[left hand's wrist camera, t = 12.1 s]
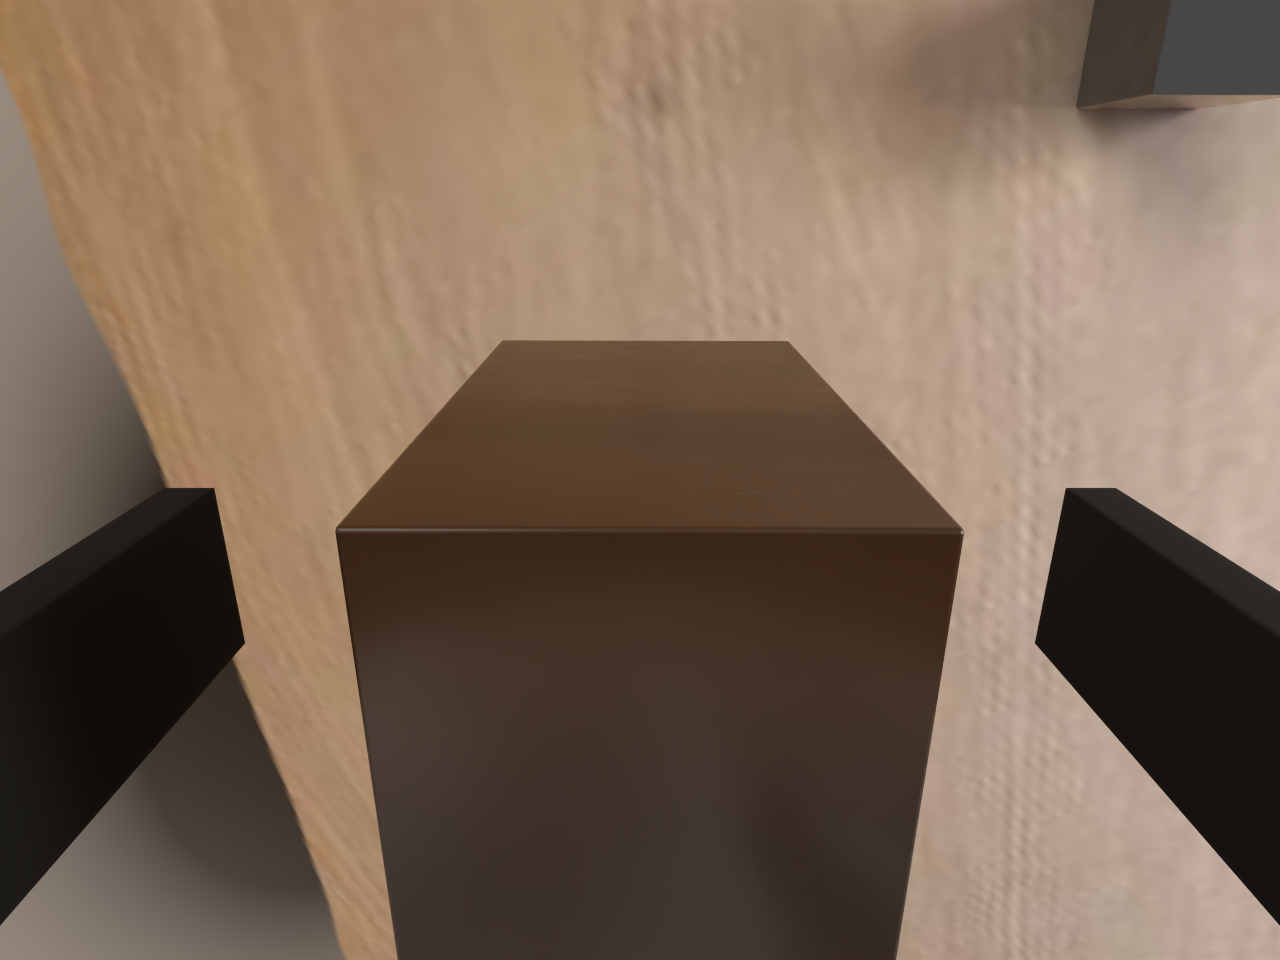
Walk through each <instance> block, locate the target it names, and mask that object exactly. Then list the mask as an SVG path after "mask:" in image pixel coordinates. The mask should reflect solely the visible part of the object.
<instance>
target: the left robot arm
mask: <svg viewBox="0 0 1280 960" xmlns="http://www.w3.org/2000/svg"><path fill="white" fill-rule="evenodd" d="M244 644H245V640H244V635H243V630H242V625H241V620H240V615H239V610H238V605H237V600H236V595H235V590H234V585H233V580H232V575H231V570H230V565H229V560H228V555H227V550H226V545H225V540H224V535H223V530H222V525H221V520H220V515H219V510H218V505H217V500H216V495H215V490H214V488H164V489H162V490H161V491H159V492H157V493H156V494H154V495H153V496H151V497H149V498H148V499H146V500H145V501H143V502H142V503H140V504H138V505H137V506H135V507H134V508H132V509H130V510H129V511H127V512H126V513H124V514H123V515H121V516H119V517H118V518H116V519H115V520H113V521H111V522H110V523H108V524H107V525H105V526H103V527H102V528H100V529H99V530H97V531H96V532H94V533H92V534H91V535H89V536H88V537H86V538H84V539H83V540H81V541H80V542H78V543H77V544H75V545H73V546H72V547H70V548H69V549H67V550H66V551H64V552H62V553H61V554H59V555H58V556H56V557H54V558H53V559H51V560H50V561H48V562H46V563H45V564H43V565H42V566H40V567H39V568H37V569H35V570H34V571H32V572H31V573H29V574H27V575H26V576H24V577H23V578H21V579H20V580H18V581H16V582H15V583H13V584H12V585H10V586H8V587H7V588H5V589H4V590H2V591H1V592H0V925H1V924H2V923H3V922H4V920H5V919H6V918H7V917H8V916H9V915H10V914H11V912H12V911H13V910H14V909H15V908H16V907H17V905H18V904H19V903H20V902H21V901H22V900H23V898H24V897H25V896H26V895H27V894H28V893H29V892H30V890H31V889H32V888H33V887H34V886H35V885H36V884H37V882H38V881H39V880H40V879H41V878H42V877H43V876H44V874H45V873H46V872H47V871H48V870H49V869H50V867H51V866H52V865H53V864H54V863H55V862H56V861H57V859H58V858H59V857H60V856H61V855H62V854H63V852H64V851H65V850H66V849H67V848H68V847H69V846H70V844H71V843H72V842H73V841H74V840H75V839H76V837H77V836H78V835H79V834H80V833H81V832H82V830H83V829H84V828H85V827H86V826H87V825H88V824H89V822H90V821H91V820H92V819H93V818H94V817H95V816H96V814H97V813H98V812H99V811H100V810H101V809H102V807H103V806H104V805H105V804H106V803H107V802H108V801H109V799H110V798H111V797H112V796H113V795H114V794H115V792H116V791H117V790H118V789H119V788H120V787H121V786H122V784H123V783H124V782H125V781H126V780H127V779H128V778H129V776H130V775H131V774H132V773H133V772H134V771H135V769H136V768H137V767H138V766H139V765H140V764H141V762H142V761H143V760H144V759H145V758H146V757H147V756H148V754H149V753H150V752H151V751H152V750H153V749H154V748H155V746H156V745H157V744H158V743H159V742H160V741H161V739H162V738H163V737H164V736H165V735H166V734H167V733H168V731H169V730H170V729H171V728H172V727H173V726H174V724H175V723H176V722H177V721H178V720H179V719H180V718H181V716H182V715H183V714H184V713H185V712H186V711H187V709H188V708H189V707H190V706H191V705H192V704H193V703H194V701H195V700H196V699H197V698H198V697H199V696H200V694H201V693H202V692H203V691H204V690H205V689H206V688H207V686H208V685H209V684H210V683H211V682H212V681H213V679H214V678H215V677H216V676H217V675H218V674H219V673H220V671H221V670H222V669H223V668H224V667H225V666H226V665H227V663H228V662H229V661H230V660H231V659H232V658H233V656H234V655H235V654H236V653H237V652H238V651H239V650H240V648H241V647H242V646H243V645H244ZM1035 644H1036V645H1037V646H1038V647H1039V648H1040V650H1041V651H1042V652H1043V653H1044V654H1045V655H1046V656H1047V658H1048V659H1049V660H1050V661H1051V662H1052V663H1053V665H1054V666H1055V667H1056V668H1057V669H1058V670H1059V671H1060V673H1061V674H1062V675H1063V676H1064V677H1065V678H1066V679H1067V681H1068V682H1069V683H1070V684H1071V685H1072V686H1073V688H1074V689H1075V690H1076V691H1077V692H1078V693H1079V694H1080V696H1081V697H1082V698H1083V699H1084V700H1085V701H1086V703H1087V704H1088V705H1089V706H1090V707H1091V708H1092V709H1093V711H1094V712H1095V713H1096V714H1097V715H1098V716H1099V718H1100V719H1101V720H1102V721H1103V722H1104V723H1105V724H1106V726H1107V727H1108V728H1109V729H1110V730H1111V731H1112V733H1113V734H1114V735H1115V736H1116V737H1117V738H1118V739H1119V741H1120V742H1121V743H1122V744H1123V745H1124V746H1125V748H1126V749H1127V750H1128V751H1129V752H1130V753H1131V754H1132V756H1133V757H1134V758H1135V759H1136V760H1137V761H1138V763H1139V764H1140V765H1141V766H1142V767H1143V768H1144V769H1145V771H1146V772H1147V773H1148V774H1149V775H1150V776H1151V778H1152V779H1153V780H1154V781H1155V782H1156V783H1157V784H1158V786H1159V787H1160V788H1161V789H1162V790H1163V791H1164V792H1165V794H1166V795H1167V796H1168V797H1169V798H1170V799H1171V801H1172V802H1173V803H1174V804H1175V805H1176V806H1177V807H1178V809H1179V810H1180V811H1181V812H1182V813H1183V814H1184V816H1185V817H1186V818H1187V819H1188V820H1189V821H1190V822H1191V824H1192V825H1193V826H1194V827H1195V828H1196V829H1197V831H1198V832H1199V833H1200V834H1201V835H1202V836H1203V837H1204V839H1205V840H1206V841H1207V842H1208V843H1209V844H1210V846H1211V847H1212V848H1213V849H1214V850H1215V851H1216V852H1217V854H1218V855H1219V856H1220V857H1221V858H1222V859H1223V861H1224V862H1225V863H1226V864H1227V865H1228V866H1229V867H1230V869H1231V870H1232V871H1233V872H1234V873H1235V874H1236V876H1237V877H1238V878H1239V879H1240V880H1241V881H1242V882H1243V884H1244V885H1245V886H1246V887H1247V888H1248V889H1249V890H1250V892H1251V893H1252V894H1253V895H1254V896H1255V897H1256V899H1257V900H1258V901H1259V902H1260V903H1261V904H1262V905H1263V907H1264V908H1265V909H1266V910H1267V911H1268V912H1269V914H1270V915H1271V916H1272V917H1273V918H1274V919H1275V920H1276V922H1277V923H1278V924H1279V925H1280V592H1279V591H1278V590H1276V589H1275V588H1273V587H1272V586H1270V585H1268V584H1267V583H1265V582H1264V581H1262V580H1260V579H1259V578H1257V577H1256V576H1254V575H1253V574H1251V573H1249V572H1248V571H1246V570H1245V569H1243V568H1241V567H1240V566H1238V565H1237V564H1235V563H1234V562H1232V561H1230V560H1229V559H1227V558H1226V557H1224V556H1222V555H1221V554H1219V553H1218V552H1216V551H1215V550H1213V549H1211V548H1210V547H1208V546H1207V545H1205V544H1203V543H1202V542H1200V541H1199V540H1197V539H1196V538H1194V537H1192V536H1191V535H1189V534H1188V533H1186V532H1184V531H1183V530H1181V529H1180V528H1178V527H1177V526H1175V525H1173V524H1172V523H1170V522H1169V521H1167V520H1165V519H1164V518H1162V517H1161V516H1159V515H1158V514H1156V513H1154V512H1153V511H1151V510H1150V509H1148V508H1146V507H1145V506H1143V505H1142V504H1140V503H1139V502H1137V501H1135V500H1134V499H1132V498H1131V497H1129V496H1127V495H1126V494H1124V493H1123V492H1121V491H1119V490H1118V489H1116V488H1066V490H1065V495H1064V500H1063V505H1062V510H1061V515H1060V520H1059V525H1058V530H1057V535H1056V540H1055V545H1054V550H1053V555H1052V560H1051V565H1050V570H1049V575H1048V580H1047V585H1046V590H1045V595H1044V600H1043V605H1042V610H1041V615H1040V620H1039V625H1038V630H1037V635H1036V640H1035Z"/></svg>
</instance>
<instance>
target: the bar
mask: <svg viewBox="0 0 1280 960" xmlns="http://www.w3.org/2000/svg"><path fill="white" fill-rule="evenodd" d="M335 532H336V539H337V546H338V553H339V559H340V566H341V573H342V580H343V587H344V594H345V601H346V607H347V614H348V621H349V628H350V635H351V642H352V649H353V655H354V662H355V669H356V676H357V683H358V690H359V697H360V703H361V710H362V717H363V724H364V731H365V738H366V745H367V751H368V758H369V765H370V772H371V779H372V786H373V793H374V799H375V806H376V813H377V820H378V827H379V834H380V841H381V848H382V854H383V861H384V868H385V875H386V882H387V889H388V896H389V902H390V909H391V916H392V923H393V930H394V937H395V944H396V950H397V957H398V960H896V955H897V949H898V943H899V937H900V930H901V924H902V918H903V912H904V905H905V899H906V893H907V886H908V880H909V874H910V868H911V861H912V855H913V849H914V843H915V836H916V830H917V824H918V818H919V811H920V805H921V799H922V792H923V786H924V780H925V774H926V767H927V761H928V755H929V749H930V742H931V736H932V730H933V724H934V717H935V711H936V705H937V698H938V692H939V686H940V680H941V673H942V667H943V661H944V655H945V648H946V642H947V636H948V630H949V623H950V617H951V611H952V604H953V598H954V592H955V586H956V579H957V573H958V567H959V561H960V554H961V548H962V542H963V536H964V532H963V529H962V527H961V526H960V525H959V524H958V523H957V522H956V521H955V520H954V519H953V518H952V517H951V516H950V515H949V514H948V512H947V511H946V510H945V509H944V508H943V507H942V506H941V505H940V504H939V503H938V502H937V501H936V500H935V498H934V497H933V496H932V495H931V494H930V493H929V492H928V491H927V490H926V489H925V488H924V487H923V486H922V484H921V483H920V482H919V481H918V480H917V479H916V478H915V477H914V476H913V475H912V474H911V473H910V472H909V471H908V469H907V468H906V467H905V466H904V465H903V464H902V463H901V462H900V461H899V460H898V459H897V458H896V457H895V455H894V454H893V453H892V452H891V451H890V450H889V449H888V448H887V447H886V446H885V445H884V444H883V443H882V441H881V440H880V439H879V438H878V437H877V436H876V435H875V434H874V433H873V432H872V431H871V430H870V429H869V428H868V426H867V425H866V424H865V423H864V422H863V421H862V420H861V419H860V418H859V417H858V416H857V415H856V414H855V412H854V411H853V410H852V409H851V408H850V407H849V406H848V405H847V404H846V403H845V402H844V401H843V400H842V399H841V397H840V396H839V395H838V394H837V393H836V392H835V391H834V390H833V389H832V388H831V387H830V386H829V385H828V383H827V382H826V381H825V380H824V379H823V378H822V377H821V376H820V375H819V374H818V373H817V372H816V371H815V369H814V368H813V367H812V366H811V365H810V364H809V363H808V362H807V361H806V360H805V359H804V358H803V357H802V356H801V354H800V353H799V352H798V351H797V350H796V349H795V348H794V347H793V346H792V345H791V344H790V343H789V342H788V341H502V342H501V343H500V344H499V345H498V346H497V347H496V348H495V349H494V351H493V352H492V353H491V354H490V355H489V356H488V357H487V358H486V360H485V361H484V362H483V363H482V364H481V365H480V366H479V367H478V369H477V370H476V371H475V372H474V373H473V374H472V375H471V376H470V378H469V379H468V380H467V381H466V382H465V383H464V384H463V385H462V387H461V388H460V389H459V390H458V391H457V392H456V393H455V394H454V396H453V397H452V398H451V399H450V400H449V401H448V402H447V403H446V405H445V406H444V407H443V408H442V409H441V410H440V411H439V412H438V414H437V415H436V416H435V417H434V418H433V419H432V420H431V421H430V423H429V424H428V425H427V426H426V427H425V428H424V429H423V430H422V432H421V433H420V434H419V435H418V436H417V437H416V438H415V439H414V441H413V442H412V443H411V444H410V445H409V446H408V447H407V448H406V450H405V451H404V452H403V453H402V454H401V455H400V456H399V457H398V459H397V460H396V461H395V462H394V463H393V464H392V465H391V466H390V468H389V469H388V470H387V471H386V472H385V473H384V474H383V475H382V477H381V478H380V479H379V480H378V481H377V482H376V483H375V484H374V486H373V487H372V488H371V489H370V490H369V491H368V492H367V493H366V495H365V496H364V497H363V498H362V499H361V500H360V501H359V502H358V504H357V505H356V506H355V507H354V508H353V509H352V510H351V511H350V513H349V514H348V515H347V516H346V517H345V518H344V519H343V520H342V522H341V523H340V524H339V525H338V526H337V528H336V531H335Z"/></svg>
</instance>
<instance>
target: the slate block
mask: <svg viewBox="0 0 1280 960" xmlns="http://www.w3.org/2000/svg"><path fill="white" fill-rule="evenodd" d="M1278 97H1280V0H1095V4H1094V10H1093V16H1092V22H1091V27H1090V33H1089V39H1088V45H1087V50H1086V56H1085V62H1084V68H1083V74H1082V79H1081V85H1080V91H1079V97H1078V102H1077V108H1078V109H1201V108H1208V107H1215V106H1222V105H1229V104H1236V103H1243V102H1250V101H1257V100H1264V99H1271V98H1278Z"/></svg>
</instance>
